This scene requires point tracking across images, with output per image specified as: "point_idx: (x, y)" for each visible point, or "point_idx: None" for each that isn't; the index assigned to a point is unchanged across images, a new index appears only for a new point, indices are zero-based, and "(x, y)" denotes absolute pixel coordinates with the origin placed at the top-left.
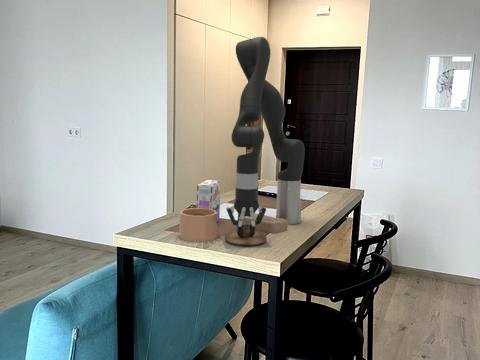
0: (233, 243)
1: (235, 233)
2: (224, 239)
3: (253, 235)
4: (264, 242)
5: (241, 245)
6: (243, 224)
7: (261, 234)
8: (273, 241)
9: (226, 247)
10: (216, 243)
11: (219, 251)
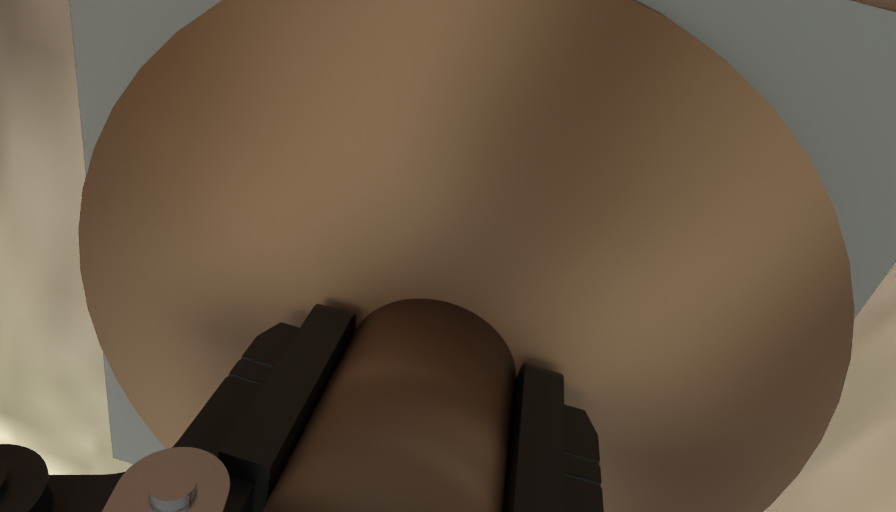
0: None
1: (323, 94)
2: None
3: (608, 364)
4: None
5: None
6: (336, 497)
7: (806, 373)
8: (887, 443)
9: (115, 435)
10: (13, 200)
11: (46, 456)
